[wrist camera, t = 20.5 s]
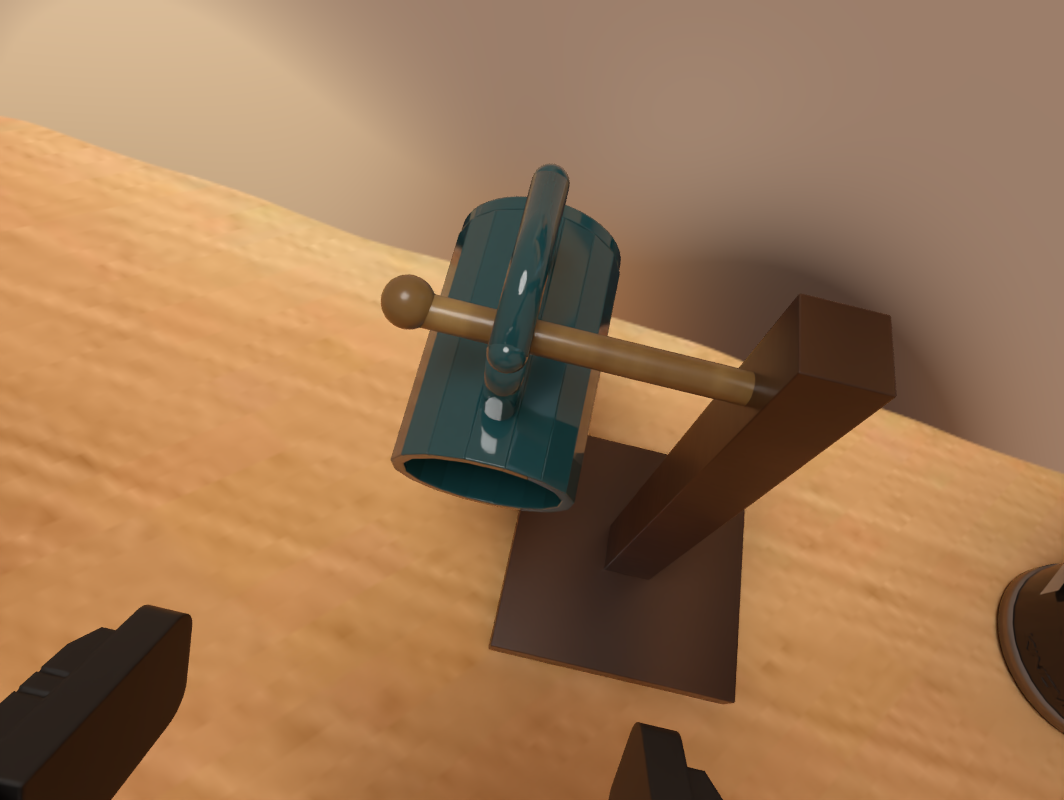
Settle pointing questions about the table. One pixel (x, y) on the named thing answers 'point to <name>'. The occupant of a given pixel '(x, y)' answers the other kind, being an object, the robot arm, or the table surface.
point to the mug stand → (669, 490)
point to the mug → (513, 356)
